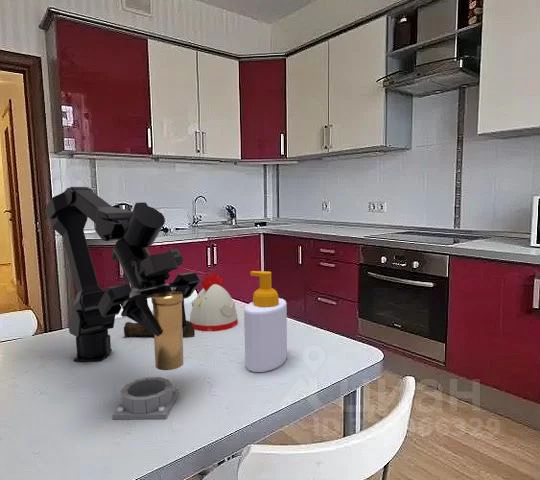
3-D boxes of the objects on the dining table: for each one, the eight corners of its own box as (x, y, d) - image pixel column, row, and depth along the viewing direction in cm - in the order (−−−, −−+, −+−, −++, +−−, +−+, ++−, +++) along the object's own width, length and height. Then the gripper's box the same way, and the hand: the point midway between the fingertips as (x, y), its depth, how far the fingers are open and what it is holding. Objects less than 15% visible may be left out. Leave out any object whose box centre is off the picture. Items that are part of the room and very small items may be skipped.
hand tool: (122, 338, 108) (121, 322, 107) (129, 333, 112) (128, 317, 111) (191, 341, 105) (190, 324, 105) (195, 336, 109) (195, 319, 109)
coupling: (148, 369, 72) (145, 297, 70) (163, 357, 77) (160, 290, 75) (176, 372, 70) (173, 299, 69) (189, 359, 76) (187, 291, 74)
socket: (112, 419, 68) (111, 400, 67) (131, 393, 77) (130, 376, 76) (166, 418, 68) (165, 400, 67) (178, 393, 77) (178, 376, 76)
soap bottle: (263, 348, 99) (262, 266, 96) (295, 353, 95) (294, 268, 93) (236, 369, 87) (233, 276, 85) (270, 376, 83) (268, 279, 81)
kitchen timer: (180, 326, 117) (178, 275, 116) (212, 314, 128) (211, 268, 127) (215, 334, 109) (214, 280, 108) (247, 321, 120) (246, 272, 119)
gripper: (102, 240, 67) (140, 318, 61) (193, 231, 80) (232, 295, 74) (84, 280, 73) (117, 355, 67) (172, 266, 87) (206, 327, 80)
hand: (172, 330), depth 72 cm, fingers closed on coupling, 5 cm apart
